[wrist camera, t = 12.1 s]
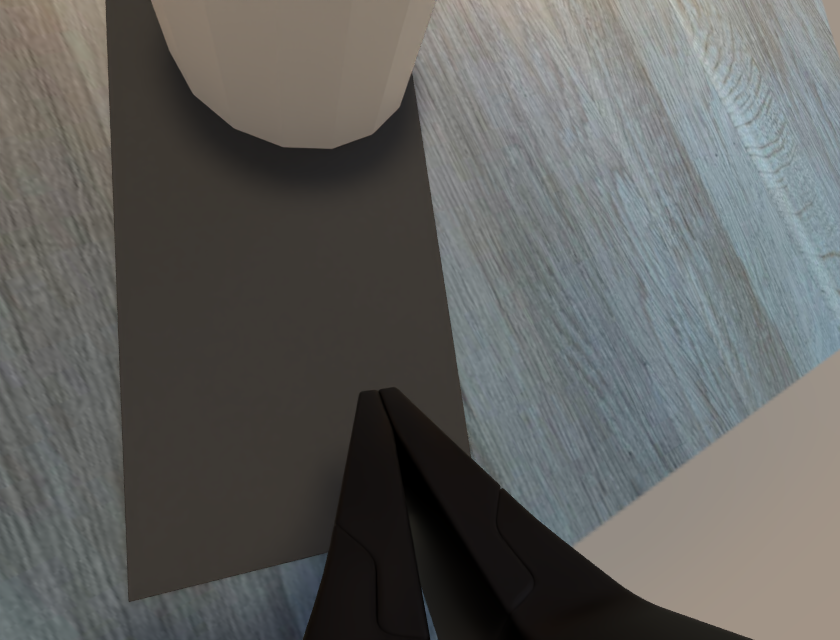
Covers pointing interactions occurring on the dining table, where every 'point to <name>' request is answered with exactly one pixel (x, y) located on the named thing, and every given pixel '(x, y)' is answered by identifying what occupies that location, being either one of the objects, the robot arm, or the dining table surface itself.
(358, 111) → the container
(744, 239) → the dining table surface
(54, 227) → the dining table surface
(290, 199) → the plate
